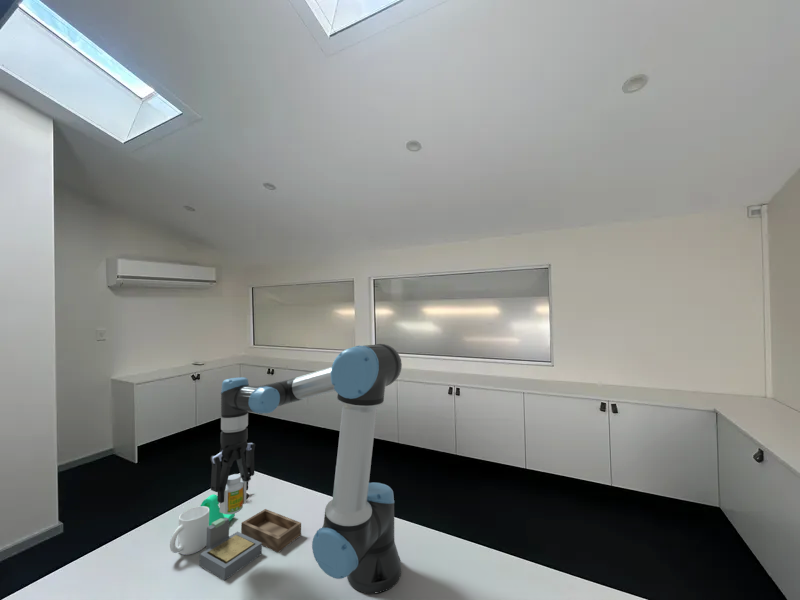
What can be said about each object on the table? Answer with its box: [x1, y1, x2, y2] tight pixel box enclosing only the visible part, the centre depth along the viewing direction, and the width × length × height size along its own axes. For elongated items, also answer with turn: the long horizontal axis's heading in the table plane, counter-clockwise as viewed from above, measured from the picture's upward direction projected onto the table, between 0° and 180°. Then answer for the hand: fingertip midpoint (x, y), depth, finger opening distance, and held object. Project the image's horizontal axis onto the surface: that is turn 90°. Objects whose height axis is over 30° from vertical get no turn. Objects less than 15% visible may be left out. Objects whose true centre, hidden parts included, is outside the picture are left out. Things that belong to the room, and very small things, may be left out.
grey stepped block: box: [199, 517, 263, 581], centre depth 99 cm, size 14×12×9 cm
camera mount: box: [199, 493, 236, 526], centre depth 118 cm, size 12×8×10 cm, turn 86°
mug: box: [169, 505, 209, 556], centre depth 103 cm, size 12×8×10 cm
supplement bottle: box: [226, 473, 244, 514], centre depth 100 cm, size 5×5×10 cm
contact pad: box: [209, 535, 254, 564], centre depth 99 cm, size 9×9×2 cm
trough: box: [240, 508, 302, 553], centre depth 110 cm, size 18×10×4 cm, turn 61°
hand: (233, 507), depth 99 cm, fingers closed on supplement bottle, 5 cm apart
